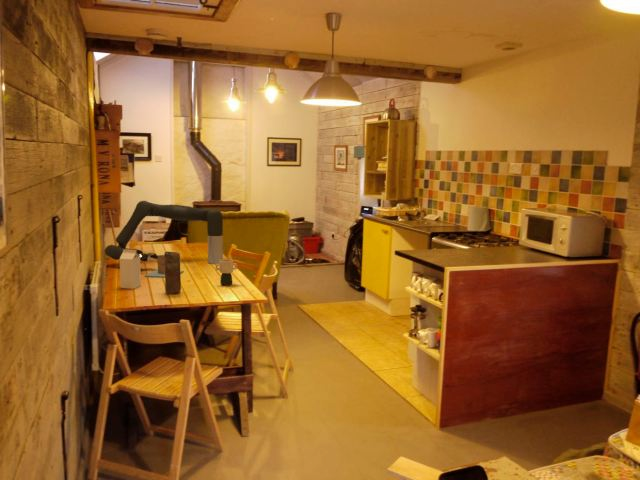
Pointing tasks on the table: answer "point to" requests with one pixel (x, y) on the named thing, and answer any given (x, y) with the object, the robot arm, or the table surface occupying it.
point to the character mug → (226, 270)
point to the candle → (172, 272)
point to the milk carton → (130, 269)
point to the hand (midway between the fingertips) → (152, 258)
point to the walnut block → (161, 264)
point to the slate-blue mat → (157, 274)
